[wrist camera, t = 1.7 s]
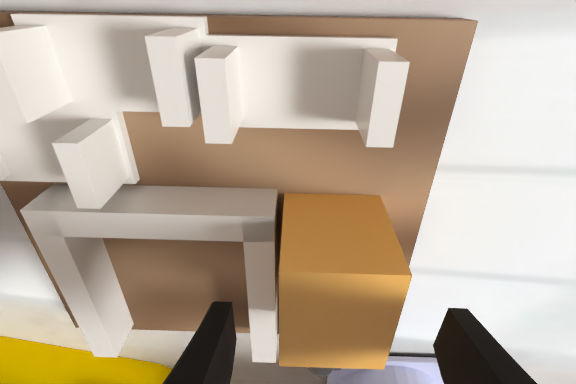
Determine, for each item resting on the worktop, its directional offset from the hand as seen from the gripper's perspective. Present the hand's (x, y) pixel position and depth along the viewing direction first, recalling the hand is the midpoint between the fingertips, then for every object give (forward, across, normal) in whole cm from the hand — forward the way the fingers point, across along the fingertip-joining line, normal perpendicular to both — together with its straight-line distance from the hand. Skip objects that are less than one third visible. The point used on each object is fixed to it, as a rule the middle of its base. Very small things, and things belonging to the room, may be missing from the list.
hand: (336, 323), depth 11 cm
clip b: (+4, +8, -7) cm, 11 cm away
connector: (+4, 0, +2) cm, 5 cm away
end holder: (+4, +7, +3) cm, 9 cm away
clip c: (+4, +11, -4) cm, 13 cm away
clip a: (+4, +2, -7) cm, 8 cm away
